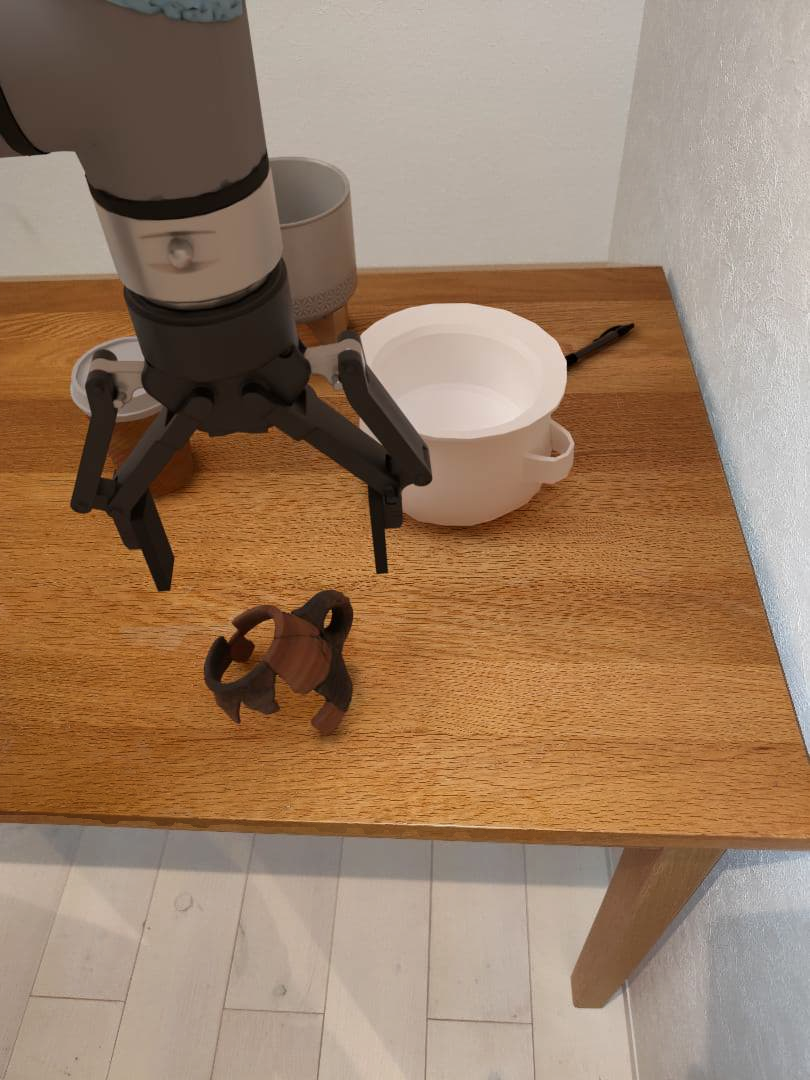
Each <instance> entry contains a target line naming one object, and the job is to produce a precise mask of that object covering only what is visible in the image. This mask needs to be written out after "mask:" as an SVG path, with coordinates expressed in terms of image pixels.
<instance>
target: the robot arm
mask: <svg viewBox="0 0 810 1080" xmlns="http://www.w3.org/2000/svg"><path fill="white" fill-rule="evenodd" d="M246 2H247V1H246V0H0V159H6V158H18V157H31V156H34V157H35V156H45V155H50V154H51V153H60V152H73V153H75V155H76V157H77V159H78V161H79V163H80V165H81V167H82V169H83V171H84V177H85V180H86V184H87V186H88V190H89V192H90V196H91V199H92V202H93V205H94V208H95V210H96V214H97V216H98V219H99V222H100V226H101V229H102V232H103V235H104V238H105V241H106V243H107V247H108V250H109V253H110V256H111V259H112V262H113V265H114V268H115V271H116V274H117V277H118V279H119V281H120V282H121V283H122V284H123V289H122V291H123V293H122V294H123V299H124V302H125V304H126V308H127V310H128V314H129V317H130V320H131V323H132V326H133V330H134V333H135V336H137V339H138V342H139V345H140V349H141V352H142V354H143V356H144V361H118V360H117V357H116V355H115V354H114V353H113V352H111V351H109V350H106V349H100V350H97V351H96V352H95V353H94V354H93V357H92V361H91V365H90V369H89V372H88V376H87V380H86V383H85V390H86V394H87V398H88V402H89V407H90V411H91V419H90V421H89V423H88V428H87V432H86V435H85V436H86V437H85V439H84V445H83V448H82V451H81V457H80V461H79V465H78V469H77V473H76V479H75V482H74V486H73V490H72V494H71V498H70V502H69V507H70V509H71V510H72V511H73V512H74V513H77V514H81V515H86V514H89V513H91V512H92V511H93V510H96V511H103V512H105V513H106V515H107V516H108V517H110V518H112V521H113V523H114V525H115V528H116V530H117V533H118V535H119V538H120V540H121V542H122V544H123V546H124V547H125V548H126V549H127V550H129V551H136V550H140V551H141V553H142V555H143V557H144V560H145V562H146V566H147V568H148V570H149V573H150V575H151V577H152V581H153V583H154V585H155V587H156V590H157V592H158V593H161V592H162V593H163V592H171V591H172V590H171V588H172V581H173V575H174V566H175V561H176V560H175V559H176V557H175V555H174V552H173V549H172V546H171V543H170V541H169V538H168V536H167V533H166V529H165V527H164V524H163V522H162V519H161V516H160V513H159V511H158V508H157V505H156V503H155V500H154V496H152V494H151V491H150V489H149V486H150V485H151V484H152V482H153V481H154V480H155V478H156V477H157V476H158V474H159V473H160V472H161V470H162V469H163V468H164V466H165V465H166V464H167V462H168V461H169V460H170V459H171V457H172V456H173V455H174V453H175V452H176V451H177V450H178V451H180V450H181V449H182V448H183V447H184V445H185V444H186V443H187V442H188V440H189V439H190V440H191V438H192V436H193V435H194V434H195V433H196V431H199V432H202V433H205V434H206V433H207V435H208V437H209V438H216V437H217V438H219V437H225V436H226V437H227V436H229V435H233V434H236V433H242V434H243V433H244V434H252V435H255V434H256V435H257V434H268V433H269V429H270V428H273V427H275V428H276V429H278V430H279V431H281V432H282V433H284V434H285V435H286V436H288V437H290V438H291V439H292V440H294V441H295V442H301V441H304V442H306V443H307V444H309V445H310V446H311V447H313V448H314V449H316V450H317V451H319V452H320V453H322V454H323V455H324V456H325V457H327V458H329V459H330V460H332V461H333V462H335V464H337V465H338V466H340V467H341V468H343V469H344V470H346V471H347V472H349V473H350V474H352V475H353V476H355V477H356V479H359V480H360V481H362V482H363V483H364V484H366V485H367V495H368V496H367V497H368V498H367V499H368V509H369V519H370V528H371V538H372V547H373V557H374V565H375V566H374V567H375V575H386V574H389V567H388V566H389V565H388V551H387V540H386V539H387V537H386V530H390V529H401V528H402V525H403V523H404V512H403V511H402V491H403V489H404V488H405V487H407V486H409V485H411V484H414V485H416V486H419V487H423V486H427V485H428V484H430V483H431V481H432V470H431V462H430V454H429V448H428V446H427V444H426V443H425V442H424V440H423V439H422V438H421V436H420V435H419V434H418V432H417V431H416V430H415V428H414V427H413V425H412V424H411V423H410V421H409V420H408V419H407V417H406V416H405V415H404V413H403V412H402V411H401V409H400V408H399V407H398V405H397V404H396V403H395V401H394V400H393V399H392V397H391V396H390V394H389V393H388V392H387V390H386V389H385V388H384V386H383V385H382V384H381V382H380V381H379V380H378V378H377V377H376V376H375V374H374V373H373V372H372V370H371V369H370V368H369V366H368V365H367V363H366V359H365V355H364V350H363V346H362V342H361V338H360V336H361V335H360V334H359V333H358V331H356V330H354V329H347V330H345V331H342V332H341V333H340V334H339V335H338V338H337V343H334V344H328V345H323V346H322V345H318V346H311V347H308V346H307V345H306V344H305V342H303V340H302V339H301V338H300V336H299V334H298V330H297V325H296V324H295V317H294V311H293V305H292V298H291V292H290V286H289V280H288V273H287V267H286V264H285V261H284V260H283V258H282V257H281V255H282V251H283V243H282V237H281V230H280V223H279V217H278V210H277V204H276V197H275V190H274V184H273V177H272V171H271V165H270V163H269V159H268V158H269V153H268V148H267V147H268V146H267V139H266V133H265V127H264V120H263V119H264V118H263V113H262V106H261V98H260V92H259V86H258V85H259V84H258V79H257V78H258V77H257V71H256V63H255V57H254V50H253V44H252V37H251V36H252V35H251V30H250V22H249V16H248V9H247V3H246ZM312 375H318V376H321V377H323V378H324V379H325V380H326V381H327V383H328V384H329V385H330V386H332V389H333V390H334V391H336V392H341V391H343V393H344V396H345V398H346V400H347V402H348V403H349V405H350V406H351V408H352V409H353V410H354V412H355V413H356V414H357V416H358V417H359V419H360V418H361V419H362V420H363V422H364V423H365V424H366V425H367V427H368V428H369V429H370V430H371V432H372V433H373V434H374V435H375V437H376V438H377V439H378V440H379V442H380V443H381V444H382V445H381V444H380V443H379V442H377V441H376V440H374V439H373V438H372V437H370V436H369V435H368V434H366V433H365V432H364V431H362V430H361V429H360V428H359V426H357V425H356V424H354V423H353V422H352V421H351V420H349V419H348V418H347V417H345V416H344V415H342V414H341V413H340V412H338V411H337V410H336V409H334V408H333V407H332V406H330V405H329V404H328V403H327V402H325V401H324V400H322V399H321V398H320V397H319V396H318V394H317V392H316V390H315V389H314V388H313V386H311V385H310V384H309V382H310V380H311V378H312ZM139 388H144V390H145V391H146V392H147V393H148V394H149V395H150V396H151V397H152V398H154V399H155V400H156V401H158V402H159V403H161V404H162V405H163V408H162V410H161V412H160V413H159V414H158V416H157V417H156V419H155V420H154V421H153V423H152V424H151V425H150V427H149V428H148V430H147V431H146V432H145V434H144V435H143V437H142V438H141V439H140V441H139V442H138V444H137V445H136V446H135V448H134V449H133V451H132V452H131V453H130V455H129V456H128V458H127V459H126V460H125V462H124V463H123V465H122V466H121V467H120V469H119V470H117V468H114V470H113V475H112V478H106V477H102V474H103V471H104V467H105V463H106V460H107V456H108V449H109V445H110V441H111V438H112V434H113V430H114V426H115V422H116V417H117V413H118V409H120V408H123V407H124V404H127V403H129V402H130V401H131V400H132V396H133V393H134V391H135V390H137V389H139Z"/></svg>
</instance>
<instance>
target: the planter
mask: <svg viewBox="0 0 810 1080" xmlns="http://www.w3.org/2000/svg"><path fill="white" fill-rule="evenodd" d="M268 159H269V163H270V165H271V171H272V177H273V184H274V190H275V197H276V204H277V210H278V217H279V223H280V230H281V237H282V243H283V251H282V255H281V257H282V258H283V260H284V261H285V264H286V267H287V273H288V280H289V286H290V292H291V298H292V305H293V311H294V317H295V324H296V326H299V325H305V326H306V327H307V328H308V329H309V330H310V331H311V333H313V335H314V336H315V337H316V339H317V340H318V341H319V343H320V346H323V345H328V344H334V343H337V338H338V335H339V334H340V333H341V332H342V331H345V330H348V329H347V328H348V327H349V326H350V319H349V311H348V302H349V300H350V299H351V298H353V295H354V293H355V292H356V290H357V287H358V270H357V269H358V268H357V257H356V255H357V254H356V245H355V232H354V219H353V208H352V197H351V184H350V180H349V178H348V176H347V175H346V173H344V171H342V169H340V168H339V167H338V166H336V165H333V164H331V163H330V162H326V161H323V160H320V159H316V158H311V157H305V156H274V157H268Z"/></svg>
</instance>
